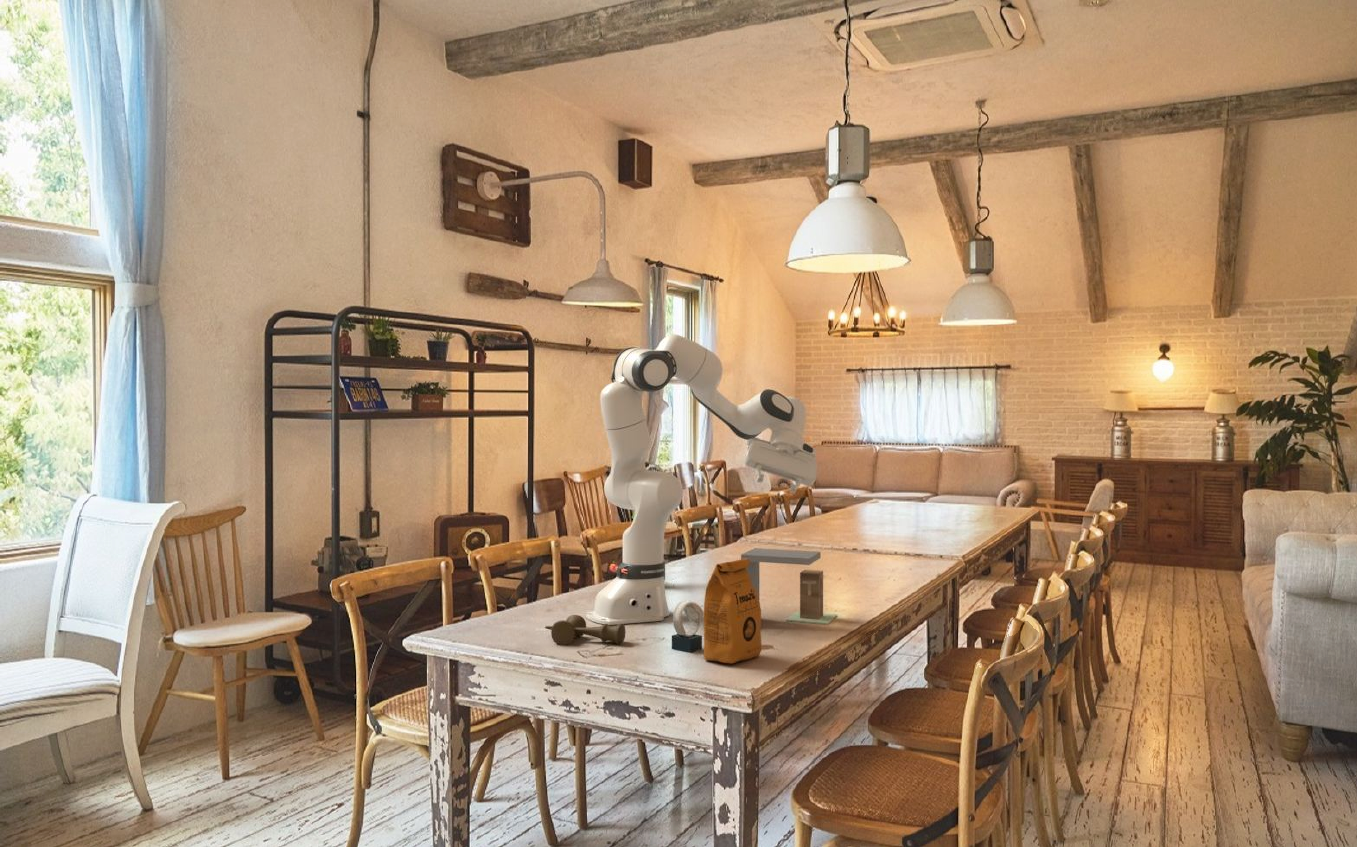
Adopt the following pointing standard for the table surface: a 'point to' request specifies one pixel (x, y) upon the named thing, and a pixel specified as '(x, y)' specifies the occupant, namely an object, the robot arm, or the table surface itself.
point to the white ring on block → (689, 639)
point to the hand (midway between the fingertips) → (776, 486)
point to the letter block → (811, 594)
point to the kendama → (584, 631)
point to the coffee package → (731, 615)
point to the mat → (823, 620)
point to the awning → (775, 560)
